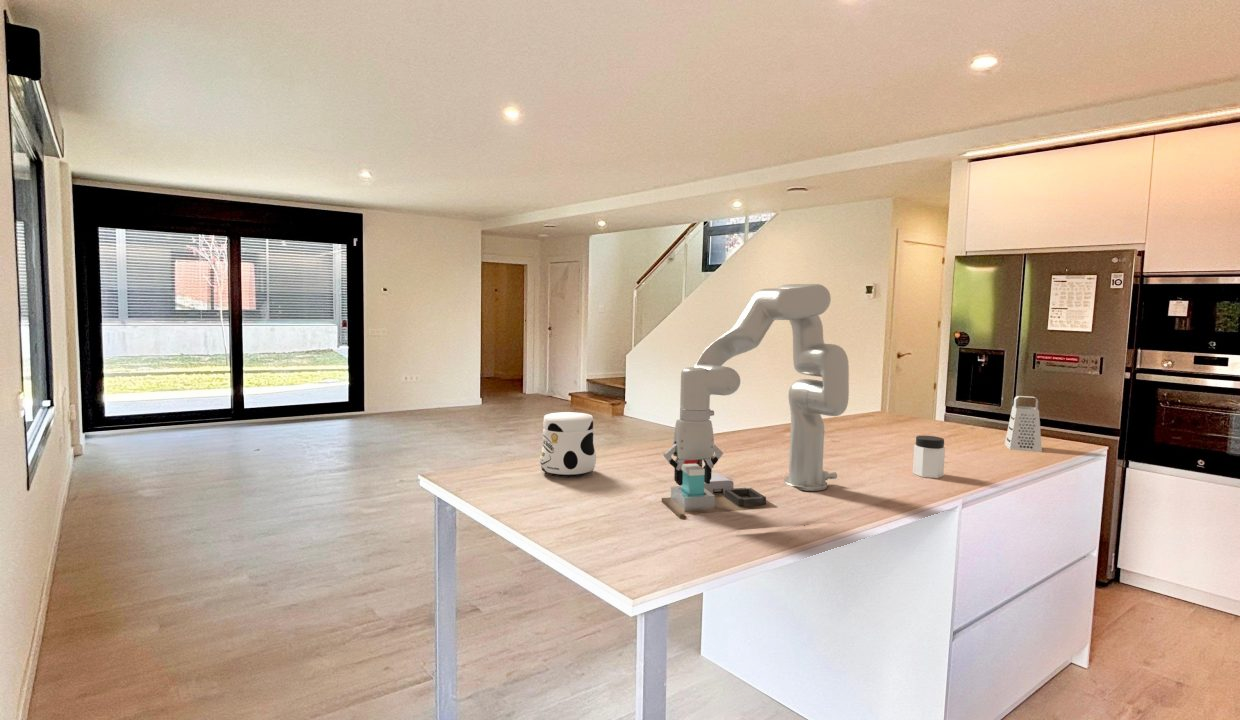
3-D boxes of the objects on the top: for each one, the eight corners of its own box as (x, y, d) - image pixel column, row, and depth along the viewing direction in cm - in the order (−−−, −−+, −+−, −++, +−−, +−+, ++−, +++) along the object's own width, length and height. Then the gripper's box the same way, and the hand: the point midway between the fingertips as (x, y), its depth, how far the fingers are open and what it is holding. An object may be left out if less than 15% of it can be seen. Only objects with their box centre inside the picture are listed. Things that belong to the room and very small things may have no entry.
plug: (695, 500, 172) (696, 463, 171) (703, 507, 166) (704, 469, 165) (680, 501, 171) (681, 464, 170) (688, 508, 165) (689, 469, 164)
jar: (948, 478, 204) (951, 440, 203) (926, 479, 202) (928, 441, 201) (929, 470, 212) (931, 434, 211) (907, 471, 211) (909, 435, 210)
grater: (1041, 452, 244) (1045, 399, 242) (1009, 449, 248) (1013, 397, 246) (1035, 446, 254) (1038, 396, 252) (1004, 444, 258) (1007, 394, 256)
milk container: (528, 474, 199) (528, 416, 198) (564, 463, 214) (564, 409, 212) (572, 484, 190) (572, 423, 188) (606, 472, 204) (607, 415, 202)
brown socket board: (753, 495, 181) (753, 485, 181) (778, 511, 168) (778, 499, 167) (661, 501, 174) (661, 490, 174) (679, 518, 160) (680, 506, 160)
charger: (711, 482, 195) (733, 496, 180) (682, 484, 192) (702, 499, 178) (711, 466, 194) (733, 480, 180) (683, 468, 192) (702, 482, 177)
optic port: (699, 497, 175) (699, 485, 174) (714, 509, 165) (715, 495, 165) (670, 499, 172) (670, 486, 172) (684, 511, 163) (684, 497, 162)
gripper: (719, 412, 173) (717, 477, 174) (657, 413, 168) (656, 481, 170) (731, 416, 165) (729, 485, 167) (667, 418, 161) (665, 489, 162)
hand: (692, 482), depth 168 cm, fingers open, 7 cm apart
